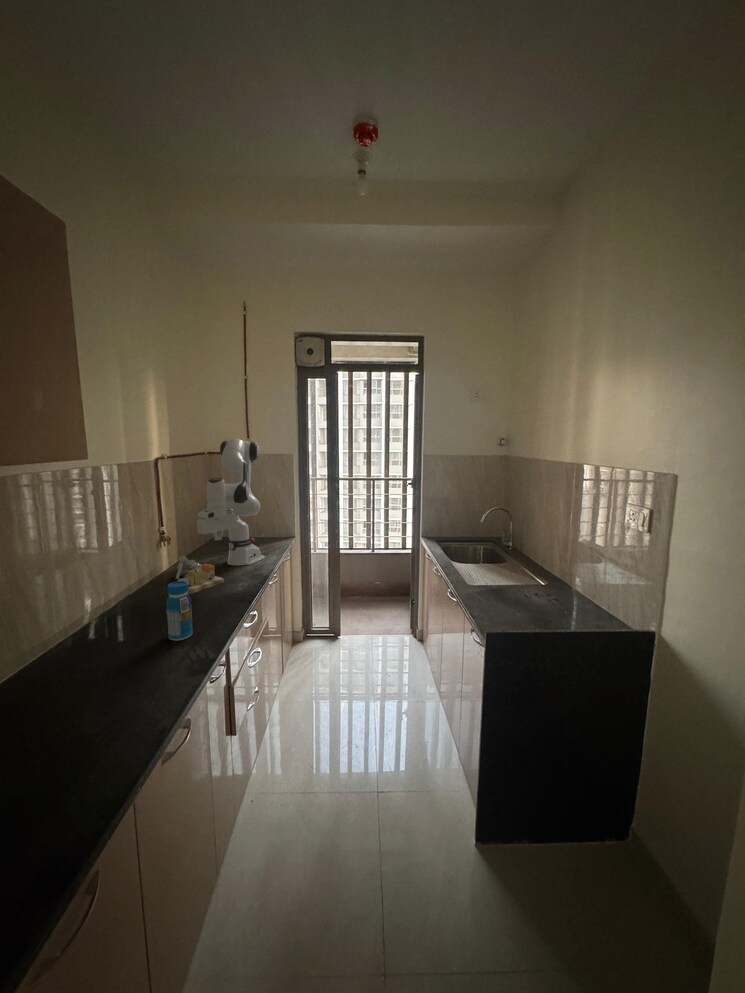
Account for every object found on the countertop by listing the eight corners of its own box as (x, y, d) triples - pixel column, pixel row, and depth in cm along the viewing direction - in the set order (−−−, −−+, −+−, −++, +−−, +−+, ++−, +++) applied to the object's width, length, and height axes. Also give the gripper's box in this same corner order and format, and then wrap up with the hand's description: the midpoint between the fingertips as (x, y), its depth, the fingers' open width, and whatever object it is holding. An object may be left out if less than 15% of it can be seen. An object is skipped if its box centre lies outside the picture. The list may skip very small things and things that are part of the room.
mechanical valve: (202, 567, 213) (192, 552, 202) (195, 598, 202) (183, 583, 190) (183, 569, 213) (172, 554, 202) (174, 599, 201) (162, 585, 190)
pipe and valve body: (209, 576, 203) (208, 561, 201) (216, 578, 200) (215, 562, 199) (176, 587, 187) (175, 570, 186) (183, 589, 185) (182, 572, 183)
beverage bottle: (165, 642, 140) (161, 589, 137) (170, 631, 148) (167, 580, 145) (191, 639, 142) (188, 586, 139) (195, 629, 150) (192, 578, 147)
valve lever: (192, 568, 192) (191, 562, 192) (197, 566, 194) (196, 560, 194) (209, 573, 185) (209, 567, 185) (214, 571, 188) (214, 565, 187)
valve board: (209, 577, 206) (208, 574, 206) (224, 582, 200) (223, 578, 200) (168, 591, 188) (168, 587, 187) (184, 596, 181) (183, 592, 181)
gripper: (230, 508, 199) (231, 535, 201) (194, 514, 182) (195, 543, 184) (239, 509, 196) (239, 536, 198) (202, 515, 179) (204, 545, 181)
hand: (218, 539), depth 191 cm, fingers closed
